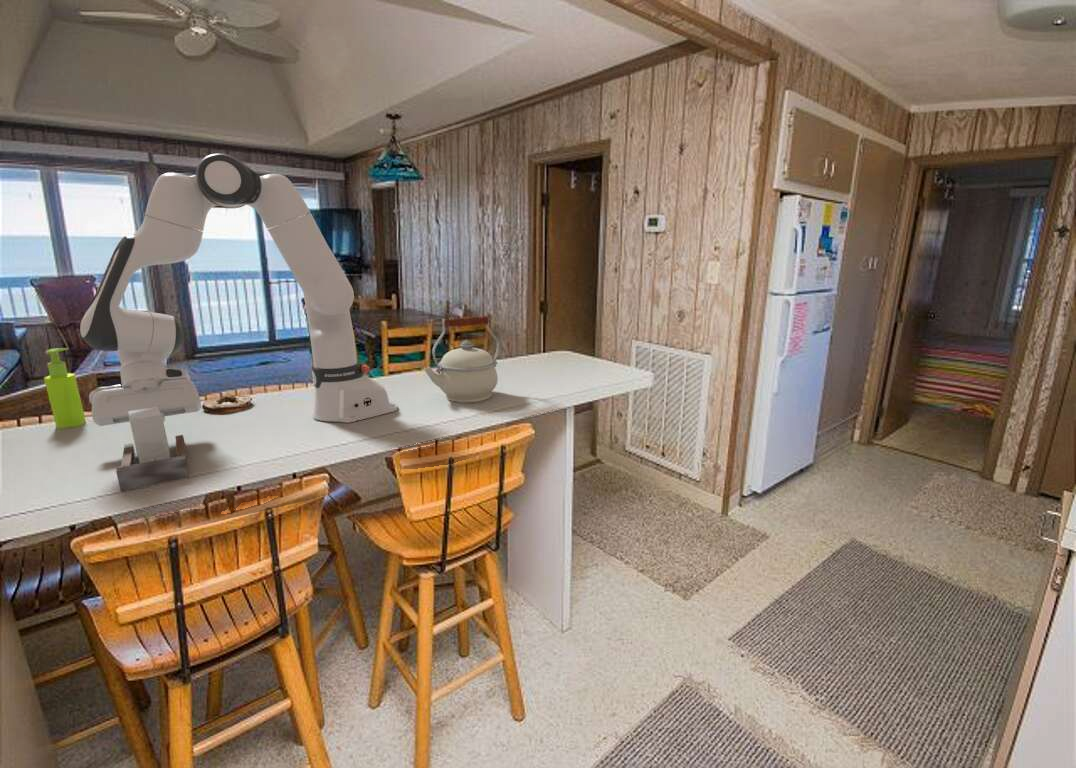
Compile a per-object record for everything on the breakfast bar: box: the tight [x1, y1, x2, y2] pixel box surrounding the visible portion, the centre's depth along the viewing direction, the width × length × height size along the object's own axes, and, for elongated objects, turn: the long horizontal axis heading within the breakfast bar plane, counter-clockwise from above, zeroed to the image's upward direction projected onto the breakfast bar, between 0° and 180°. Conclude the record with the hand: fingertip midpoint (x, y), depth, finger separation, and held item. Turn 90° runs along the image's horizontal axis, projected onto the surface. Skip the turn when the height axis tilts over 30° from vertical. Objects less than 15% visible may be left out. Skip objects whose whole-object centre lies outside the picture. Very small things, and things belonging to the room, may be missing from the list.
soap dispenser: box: [43, 347, 87, 429], centre depth 133 cm, size 6×7×20 cm
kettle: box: [422, 315, 500, 404], centre depth 157 cm, size 25×18×25 cm
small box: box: [128, 407, 172, 464], centre depth 113 cm, size 8×6×10 cm
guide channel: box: [115, 434, 190, 492], centre depth 111 cm, size 11×23×4 cm, turn 35°
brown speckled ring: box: [201, 394, 253, 416], centre depth 150 cm, size 15×15×4 cm
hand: (152, 433), depth 117 cm, fingers closed
